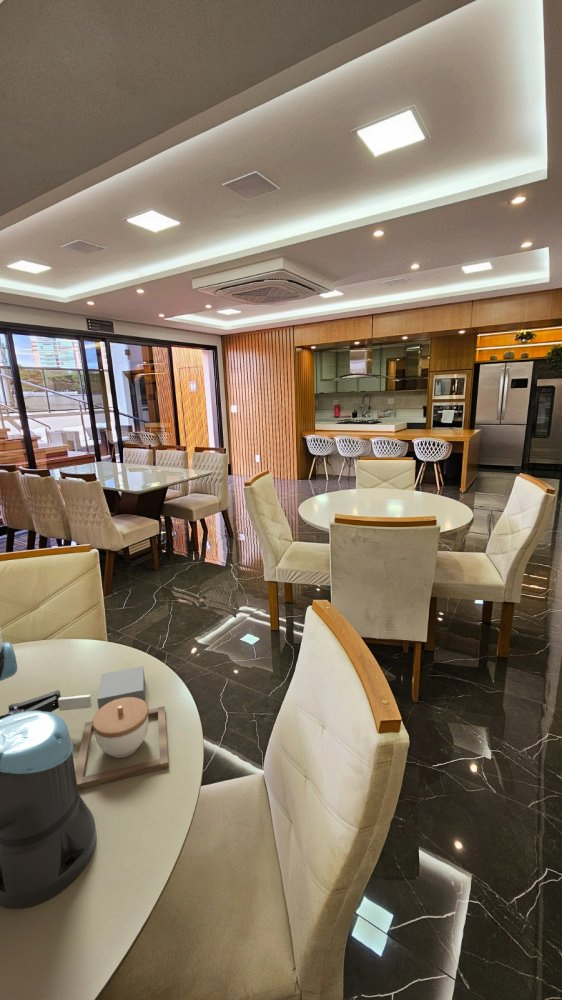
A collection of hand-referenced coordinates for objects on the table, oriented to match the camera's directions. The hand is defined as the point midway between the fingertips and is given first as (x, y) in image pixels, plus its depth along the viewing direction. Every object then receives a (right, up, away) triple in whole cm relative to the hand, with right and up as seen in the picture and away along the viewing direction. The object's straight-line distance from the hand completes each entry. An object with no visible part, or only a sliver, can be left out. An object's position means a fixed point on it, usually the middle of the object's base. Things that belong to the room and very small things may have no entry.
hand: (80, 723), depth 89 cm
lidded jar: (+8, -6, +2) cm, 10 cm away
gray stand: (+2, -2, +17) cm, 18 cm away
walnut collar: (+8, -6, +2) cm, 10 cm away
